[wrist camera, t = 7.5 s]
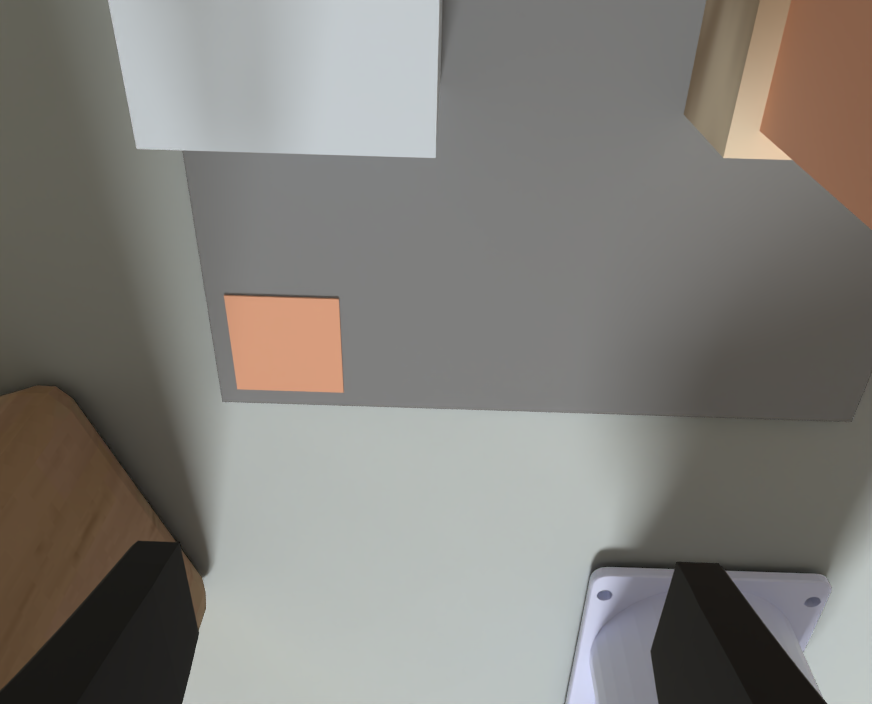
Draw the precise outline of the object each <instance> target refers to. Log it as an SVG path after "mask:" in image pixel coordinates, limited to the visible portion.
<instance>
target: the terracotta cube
mask: <svg viewBox="0 0 872 704" xmlns="http://www.w3.org/2000/svg"><path fill="white" fill-rule="evenodd" d="M759 131H760V132H761V133H762V134H763V135H765V136H766V137H767V138H768V139H769V140H770V141H771V142H773V143H774V144H775V145H776V146H777V147H778V148H779V149H780V150H782V151H783V152H784V153H785V154H786V155H787V156H788V157H790V158H791V159H792V160H793V161H794V162H795V163H796V164H797V165H799V166H800V167H801V168H802V169H803V170H804V171H805V172H807V173H808V174H809V175H810V176H811V177H812V178H813V179H814V180H816V181H817V182H818V183H819V184H820V185H821V186H822V187H824V188H825V189H826V190H827V191H828V192H829V193H830V194H832V195H833V196H834V197H835V198H836V199H837V200H838V201H839V202H841V203H842V204H843V205H844V206H845V207H846V208H847V209H849V210H850V211H851V212H852V213H853V214H854V215H855V216H856V217H858V218H859V219H860V220H861V221H862V222H863V223H864V224H866V225H867V226H868V227H869V228H870V229H871V230H872V0H791V3H790V7H789V11H788V15H787V19H786V24H785V28H784V32H783V36H782V40H781V44H780V48H779V52H778V56H777V60H776V65H775V69H774V73H773V77H772V81H771V85H770V89H769V93H768V97H767V101H766V105H765V110H764V114H763V118H762V122H761V126H760V130H759Z"/></svg>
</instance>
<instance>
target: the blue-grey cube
mask: <svg viewBox="0 0 872 704" xmlns="http://www.w3.org/2000/svg"><path fill="white" fill-rule="evenodd" d="M108 3H109V8H110V13H111V19H112V24H113V29H114V34H115V39H116V45H117V50H118V55H119V60H120V65H121V71H122V76H123V81H124V86H125V91H126V97H127V102H128V107H129V112H130V117H131V123H132V128H133V133H134V138H135V143H136V149H152V150H185V151H218V152H251V153H284V154H317V155H350V156H383V157H416V158H436V144H437V128H438V112H439V97H440V76H441V38H442V0H108Z"/></svg>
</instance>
